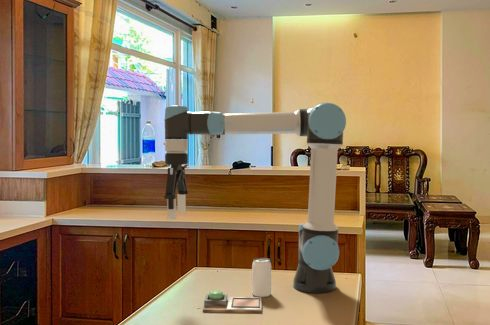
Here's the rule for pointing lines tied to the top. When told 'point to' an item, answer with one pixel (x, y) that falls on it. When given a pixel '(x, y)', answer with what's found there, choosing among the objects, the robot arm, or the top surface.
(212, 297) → the button
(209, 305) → the tan rectangular board
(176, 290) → the top surface
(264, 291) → the can
